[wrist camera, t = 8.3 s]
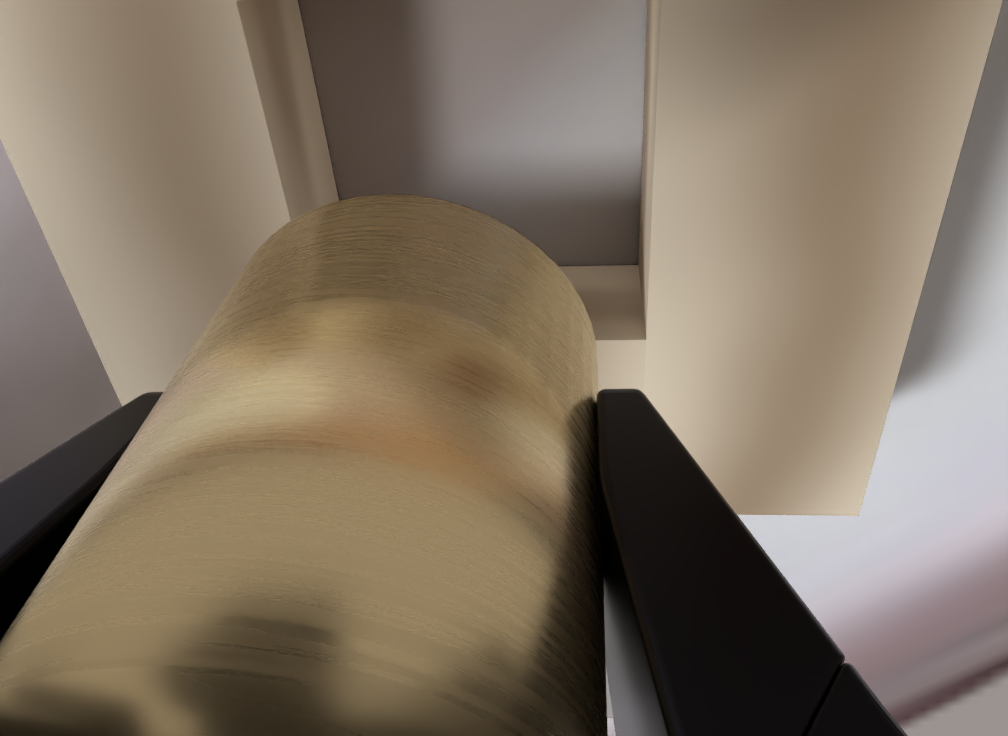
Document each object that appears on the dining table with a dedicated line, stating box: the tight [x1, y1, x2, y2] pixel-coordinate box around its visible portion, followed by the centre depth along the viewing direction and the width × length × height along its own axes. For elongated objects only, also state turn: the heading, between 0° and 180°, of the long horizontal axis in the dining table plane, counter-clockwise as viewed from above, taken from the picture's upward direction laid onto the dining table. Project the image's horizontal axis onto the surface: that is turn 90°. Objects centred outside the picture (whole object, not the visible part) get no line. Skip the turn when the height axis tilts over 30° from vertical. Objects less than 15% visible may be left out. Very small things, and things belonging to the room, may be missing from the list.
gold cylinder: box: [0, 194, 608, 736], centre depth 7 cm, size 4×4×5 cm
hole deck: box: [0, 0, 1003, 516], centre depth 13 cm, size 14×14×3 cm
